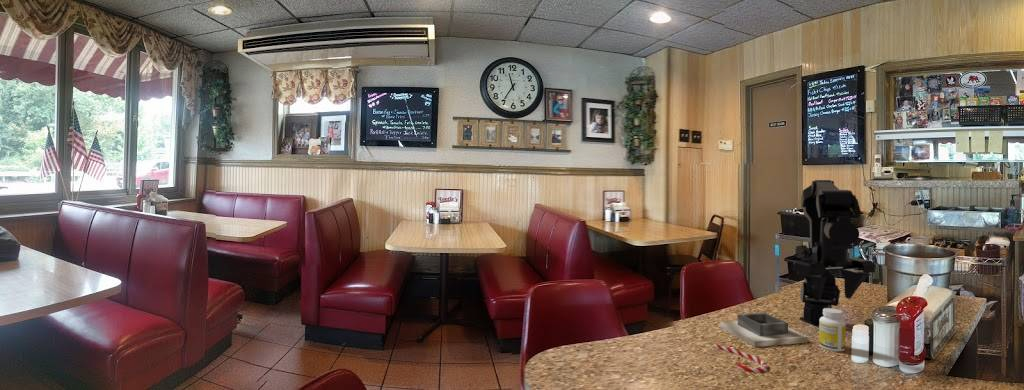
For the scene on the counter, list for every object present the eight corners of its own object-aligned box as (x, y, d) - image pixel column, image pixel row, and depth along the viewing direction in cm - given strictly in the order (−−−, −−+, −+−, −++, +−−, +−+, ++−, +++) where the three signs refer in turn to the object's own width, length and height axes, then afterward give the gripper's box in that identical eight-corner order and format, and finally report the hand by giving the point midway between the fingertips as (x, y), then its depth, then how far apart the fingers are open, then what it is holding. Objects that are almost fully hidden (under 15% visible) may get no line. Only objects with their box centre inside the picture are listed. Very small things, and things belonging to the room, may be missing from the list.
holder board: (768, 323, 125) (768, 308, 125) (808, 342, 112) (808, 325, 111) (719, 327, 123) (720, 312, 123) (754, 347, 109) (755, 330, 109)
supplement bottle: (835, 343, 111) (837, 307, 110) (850, 352, 105) (851, 314, 105) (814, 343, 111) (815, 306, 111) (827, 351, 106) (828, 313, 105)
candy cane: (722, 341, 111) (777, 365, 97) (722, 346, 111) (777, 370, 97) (700, 346, 108) (753, 371, 94) (700, 351, 108) (753, 377, 94)
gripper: (836, 233, 116) (835, 288, 117) (777, 235, 113) (775, 292, 114) (877, 239, 105) (875, 300, 106) (812, 242, 102) (810, 305, 103)
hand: (832, 299), depth 108 cm, fingers open, 9 cm apart
